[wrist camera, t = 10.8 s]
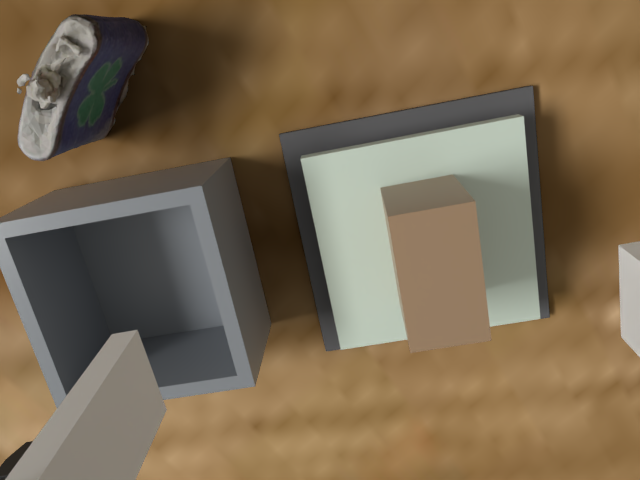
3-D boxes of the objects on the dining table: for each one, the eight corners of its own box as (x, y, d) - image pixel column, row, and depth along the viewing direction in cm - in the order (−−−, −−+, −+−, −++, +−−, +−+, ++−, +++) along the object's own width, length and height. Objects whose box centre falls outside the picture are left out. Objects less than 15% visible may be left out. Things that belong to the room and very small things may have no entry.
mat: (279, 133, 41) (279, 134, 41) (530, 85, 39) (532, 86, 39) (326, 348, 47) (325, 351, 46) (547, 314, 45) (549, 317, 45)
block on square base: (303, 151, 41) (291, 182, 32) (512, 111, 40) (562, 131, 30) (340, 332, 46) (340, 404, 37) (529, 303, 44) (577, 370, 35)
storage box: (54, 190, 43) (-17, 225, 35) (230, 157, 42) (201, 185, 33) (110, 349, 48) (59, 415, 39) (271, 323, 46) (255, 386, 38)
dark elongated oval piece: (106, 145, 42) (30, 176, 32) (69, 125, 42) (-19, 150, 32) (156, 30, 39) (91, 24, 29) (118, 8, 39) (38, -7, 29)
